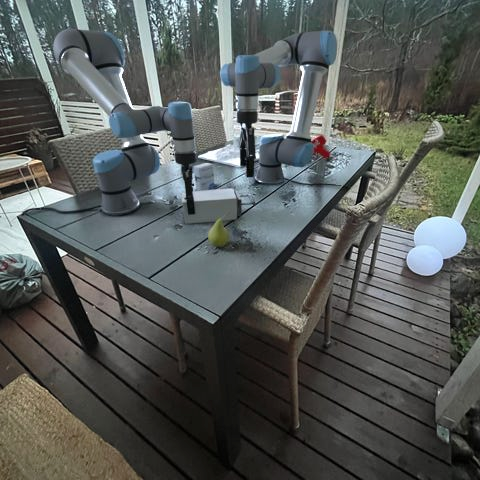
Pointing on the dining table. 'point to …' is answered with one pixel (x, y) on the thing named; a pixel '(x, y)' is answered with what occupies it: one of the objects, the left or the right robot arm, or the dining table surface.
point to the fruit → (218, 234)
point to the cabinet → (211, 206)
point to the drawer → (243, 203)
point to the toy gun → (320, 146)
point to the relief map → (225, 156)
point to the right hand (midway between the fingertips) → (246, 171)
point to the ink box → (204, 176)
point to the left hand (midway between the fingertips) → (191, 207)
